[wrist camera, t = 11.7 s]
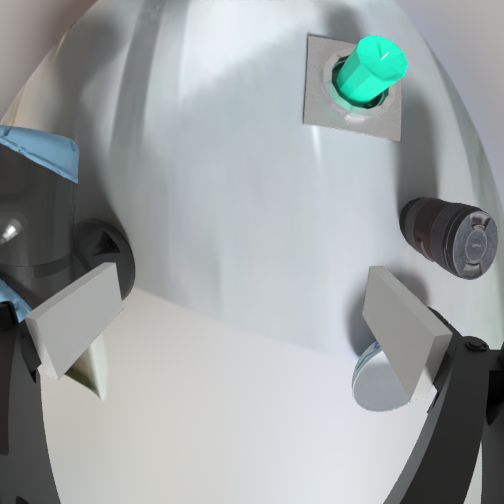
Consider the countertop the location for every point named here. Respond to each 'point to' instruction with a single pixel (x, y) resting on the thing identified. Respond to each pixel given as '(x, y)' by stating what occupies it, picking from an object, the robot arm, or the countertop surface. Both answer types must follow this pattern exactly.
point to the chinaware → (377, 382)
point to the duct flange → (337, 105)
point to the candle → (371, 69)
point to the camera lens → (451, 235)
